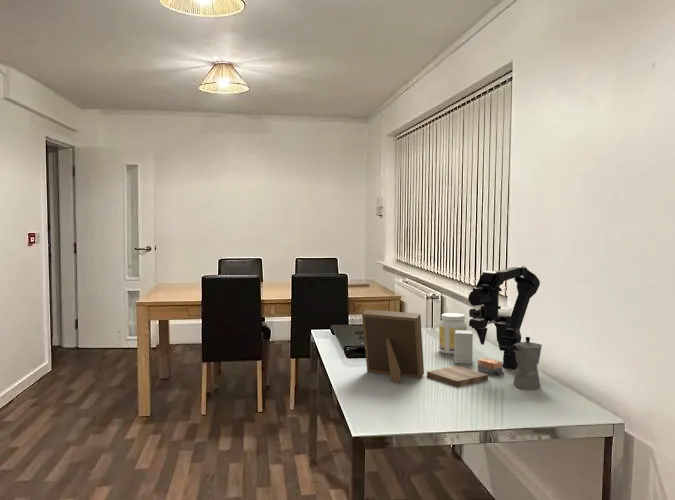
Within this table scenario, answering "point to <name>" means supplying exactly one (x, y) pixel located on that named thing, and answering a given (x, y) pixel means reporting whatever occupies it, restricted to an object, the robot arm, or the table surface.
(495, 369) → the block
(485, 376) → the walnut stand
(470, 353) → the supplement box
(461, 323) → the supplement tub
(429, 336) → the table surface
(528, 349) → the coffeepot
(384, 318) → the photo frame
